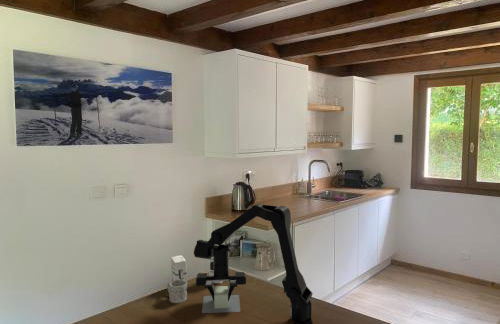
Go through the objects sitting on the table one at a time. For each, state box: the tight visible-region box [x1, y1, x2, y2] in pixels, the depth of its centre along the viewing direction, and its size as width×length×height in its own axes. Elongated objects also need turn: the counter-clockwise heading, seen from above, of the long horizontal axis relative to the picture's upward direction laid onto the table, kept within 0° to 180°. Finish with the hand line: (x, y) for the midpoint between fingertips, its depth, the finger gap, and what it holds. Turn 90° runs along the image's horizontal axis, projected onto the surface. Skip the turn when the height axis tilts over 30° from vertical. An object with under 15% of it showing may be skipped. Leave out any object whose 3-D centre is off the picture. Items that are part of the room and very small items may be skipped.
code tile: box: [201, 294, 241, 314], centre depth 139 cm, size 14×14×1 cm
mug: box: [167, 280, 188, 304], centre depth 143 cm, size 10×7×7 cm
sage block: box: [214, 285, 229, 309], centre depth 139 cm, size 5×8×5 cm, turn 4°
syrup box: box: [208, 257, 224, 284], centre depth 160 cm, size 6×6×14 cm
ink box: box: [170, 255, 188, 283], centre depth 155 cm, size 9×5×12 cm, turn 25°
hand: (221, 300), depth 139 cm, fingers closed on sage block, 5 cm apart
